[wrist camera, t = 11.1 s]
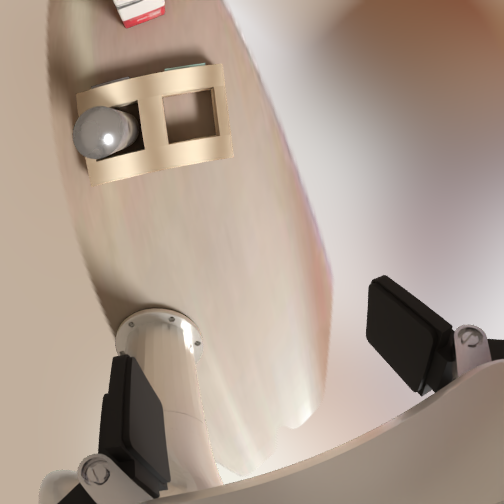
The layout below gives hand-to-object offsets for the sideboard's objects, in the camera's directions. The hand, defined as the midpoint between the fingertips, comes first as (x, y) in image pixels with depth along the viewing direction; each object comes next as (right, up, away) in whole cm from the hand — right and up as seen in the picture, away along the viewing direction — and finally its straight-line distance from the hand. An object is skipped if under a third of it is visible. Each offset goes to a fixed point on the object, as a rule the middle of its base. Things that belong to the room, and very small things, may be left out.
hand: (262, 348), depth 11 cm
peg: (-14, +17, +17) cm, 28 cm away
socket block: (-11, +17, +18) cm, 27 cm away
